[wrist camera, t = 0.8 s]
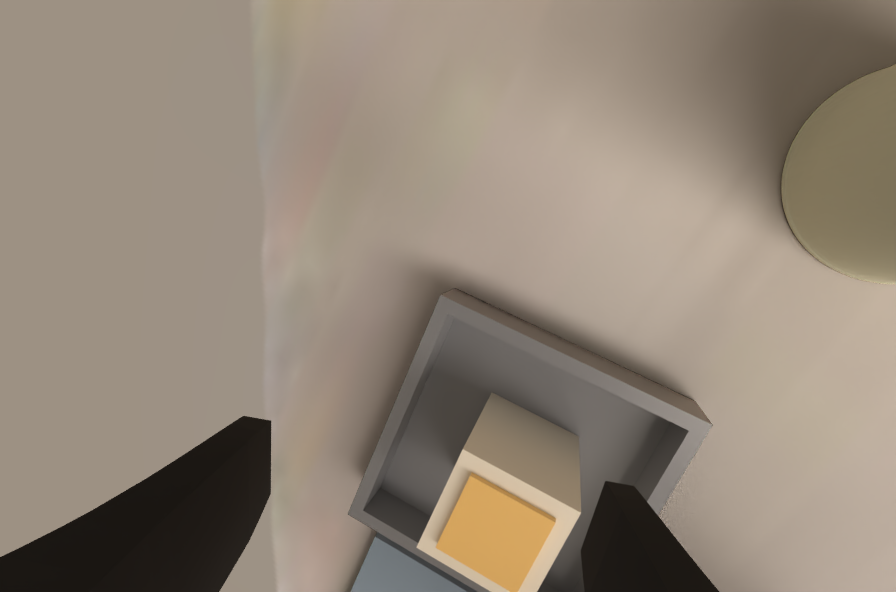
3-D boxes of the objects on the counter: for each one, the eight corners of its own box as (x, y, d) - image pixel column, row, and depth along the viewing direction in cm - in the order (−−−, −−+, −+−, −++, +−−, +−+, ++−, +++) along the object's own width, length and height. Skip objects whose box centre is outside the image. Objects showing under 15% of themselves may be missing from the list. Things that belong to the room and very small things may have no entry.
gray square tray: (695, 401, 23) (712, 425, 21) (576, 604, 26) (576, 650, 24) (455, 288, 26) (440, 294, 23) (370, 486, 29) (347, 513, 26)
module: (578, 436, 25) (581, 517, 18) (537, 513, 26) (525, 618, 19) (491, 392, 25) (461, 452, 18) (455, 468, 27) (413, 552, 20)
